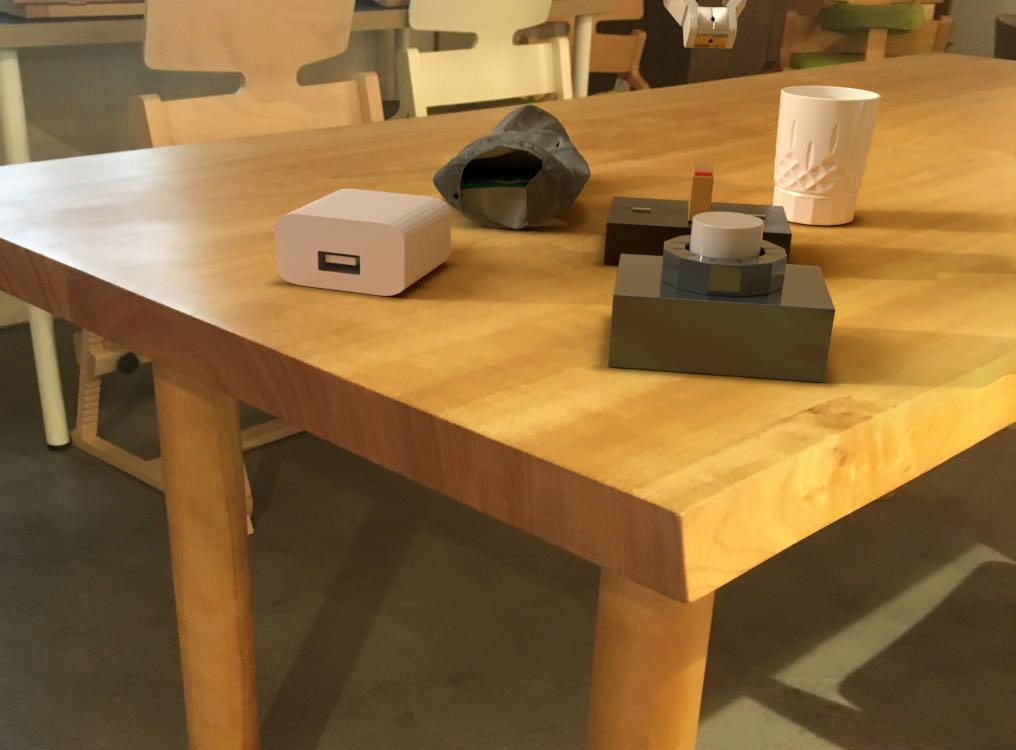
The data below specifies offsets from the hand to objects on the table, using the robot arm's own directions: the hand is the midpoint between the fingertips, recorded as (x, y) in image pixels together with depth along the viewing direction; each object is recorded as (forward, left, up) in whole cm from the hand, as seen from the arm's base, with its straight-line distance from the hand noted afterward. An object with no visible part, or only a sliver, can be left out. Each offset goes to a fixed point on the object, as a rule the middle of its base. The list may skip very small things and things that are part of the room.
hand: (710, 41), depth 75 cm
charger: (+21, -4, -16) cm, 27 cm away
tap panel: (-1, -12, -16) cm, 20 cm away
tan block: (-1, -12, -13) cm, 18 cm away
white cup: (-11, -27, -16) cm, 33 cm away
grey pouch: (+14, -27, -16) cm, 35 cm away
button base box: (-2, +10, -16) cm, 19 cm away
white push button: (-2, +10, -10) cm, 14 cm away
